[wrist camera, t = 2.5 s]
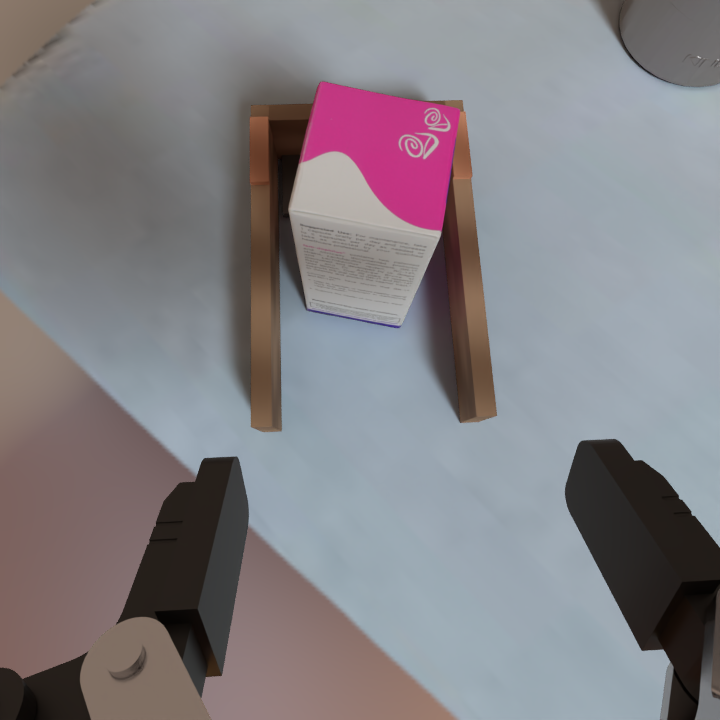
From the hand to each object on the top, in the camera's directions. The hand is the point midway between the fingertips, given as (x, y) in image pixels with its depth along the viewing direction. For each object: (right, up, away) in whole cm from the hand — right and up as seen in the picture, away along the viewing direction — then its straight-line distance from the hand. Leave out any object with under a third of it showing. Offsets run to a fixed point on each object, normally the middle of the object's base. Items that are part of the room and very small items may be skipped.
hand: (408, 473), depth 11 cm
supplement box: (-1, +8, +17) cm, 19 cm away
